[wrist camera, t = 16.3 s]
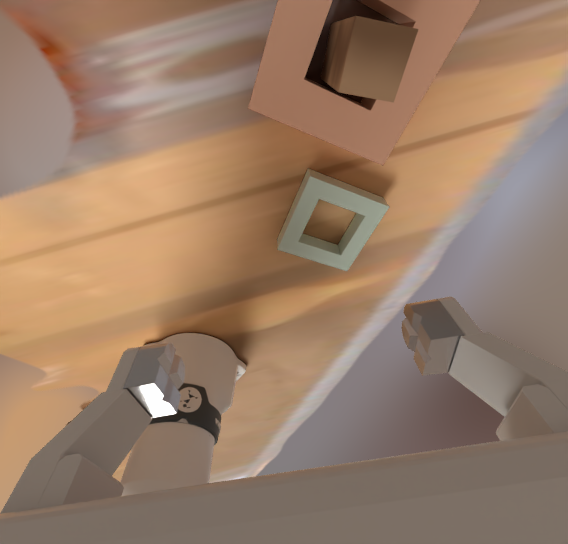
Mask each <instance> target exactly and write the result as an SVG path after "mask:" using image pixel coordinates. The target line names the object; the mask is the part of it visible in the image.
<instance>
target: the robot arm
mask: <svg viewBox="0 0 568 544" xmlns="http://www.w3.org/2000/svg"><path fill="white" fill-rule="evenodd" d="M404 314H405V316H406V318H405V319H404V320H403V321H402V333H403V337H404V340H405V343H406V345H407V347H408V348H409V349H411V350H412V351H414V352H415V354H414V360H415V362H416V364H417V366H418V368H419V370H420V372H421V374H422V375H431V374H440V373H448V372H449V374H450V375H451V376H452V377H454V378H455V379H456V380H458V381H459V382H460V383H461V384H463V385H464V386H465V387H467V388H468V389H469V390H471V391H472V392H473V393H475V394H476V395H477V396H478V397H480V398H481V399H482V400H484V401H485V402H486V403H488V404H489V405H490V406H491V407H493V408H494V409H495V410H497V411H498V412H499V413H501V414H502V415H503V416H504V419H503V421H502V422H501V424H500V425H499V427H498V429H497V431H496V434H497V436H498V437H499V439H500V441H497V442H490V443H483V444H476V445H469V446H462V447H455V448H449V449H442V450H435V451H428V452H421V453H415V454H407V455H400V456H394V457H387V458H380V459H374V460H366V461H359V462H353V463H346V464H339V465H332V466H325V467H318V468H312V469H305V470H297V471H290V472H284V473H277V474H270V475H263V476H256V477H249V478H242V479H235V480H229V481H222V482H215V483H209V479H210V472H211V464H212V457H213V450H214V445H215V444H216V443H217V441H218V436H219V433H220V428H221V426H220V423H221V415H222V414H223V413H224V412H226V411H227V410H228V408H229V407H231V405H232V402H233V396H234V390H235V383H236V381H237V380H238V379H239V378H240V377H241V376H242V375H243V374H244V373H245V371H246V365H245V364H244V363H243V362H242V361H241V360H239V359H238V358H237V357H236V355H235V353H234V352H233V350H232V349H231V348H230V347H229V346H228V345H227V344H226V343H224V342H223V341H221V340H219V339H217V338H214V337H212V336H208V335H204V334H198V333H181V334H176V335H172V336H170V337H167V338H165V339H164V340H162V341H160V342H156V343H150V344H146V345H144V346H142V347H136V348H129V349H127V350H126V351H125V352H124V353H123V355H122V357H121V359H120V362H119V364H118V366H117V368H116V371H115V373H114V375H113V377H112V379H111V382H110V384H109V386H108V388H107V391H106V392H103V393H101V394H100V395H99V396H98V397H96V398H95V399H94V400H93V401H92V402H91V403H90V404H89V405H88V406H87V407H86V408H85V409H84V410H83V411H82V412H80V413H79V414H78V415H77V416H76V417H75V418H74V419H73V420H72V421H71V422H70V423H69V424H68V425H67V426H66V427H65V428H63V430H61V431H60V432H59V433H58V434H57V435H56V436H55V437H54V438H53V439H52V440H51V441H50V442H49V443H47V444H46V446H45V447H43V448H42V449H41V450H40V451H39V452H38V453H37V454H36V455H35V456H34V457H33V458H32V459H31V460H30V461H29V463H28V465H27V467H26V469H25V470H24V472H23V474H22V476H21V478H20V480H19V481H18V483H17V485H16V487H15V488H14V490H13V492H12V494H11V495H10V497H9V499H8V501H7V503H6V504H5V506H4V508H3V510H2V512H1V513H0V544H568V372H567V371H565V370H563V369H561V368H559V367H557V366H555V365H553V364H551V363H549V362H547V361H545V360H543V359H541V358H539V357H537V356H535V355H533V354H531V353H529V352H527V351H525V350H523V349H521V348H519V347H517V346H515V345H513V344H511V343H509V342H507V341H505V340H503V339H501V338H499V337H497V336H495V335H492V334H491V333H489V332H485V333H483V332H482V331H481V330H480V328H479V327H478V326H477V325H476V324H475V322H474V321H473V320H472V319H471V318H470V316H469V315H468V314H467V313H466V312H465V310H464V309H463V308H462V307H461V306H460V304H459V303H458V302H457V301H456V299H455V298H453V297H446V298H440V299H436V300H435V299H434V300H428V301H422V302H416V303H410V304H406V305H405V307H404ZM132 447H133V448H132ZM131 449H132V450H131ZM130 450H131V453H130V456H129V459H128V462H127V465H126V467H125V470H124V473H123V476H122V479H121V482H119V481H117V480H116V479H115V478H113V477H112V475H113V473H114V472H115V471H116V469H117V468H118V467H119V465H120V464H121V462H122V461H123V460H124V458H125V457H126V455H127V454H128V453H129V451H130Z"/></svg>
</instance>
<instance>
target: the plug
mask: <svg viewBox="0 0 568 544" xmlns="http://www.w3.org/2000/svg"><path fill="white" fill-rule="evenodd" d="M417 32H418V29H416V28H411V27H406V26H402V25H397V24H393V23H388V22H383V21H379V20H374V19H370V18H365V17H360V16H354V17H350V18H347V19H344V20H341V21H338V22H334V23H331V26H330V31H329V36H328V41H327V46H326V51H325V57H324V62H323V67H322V72H321V77H320V78H321V79H322V80H323V81H325V82H326V83H327V84H329V85H330V86H331V87H332V88H334V89H335V90H336V91H337V92H339V93H345V94H350V95H355V96H361V97H366V98H372V99H377V100H383V101H388V102H393V103H394V100H395V97H396V94H397V91H398V88H399V85H400V82H401V79H402V77H403V74H404V71H405V68H406V65H407V62H408V59H409V56H410V53H411V50H412V47H413V44H414V41H415V38H416V35H417Z"/></svg>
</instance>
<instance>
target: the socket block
mask: <svg viewBox="0 0 568 544" xmlns="http://www.w3.org/2000/svg"><path fill="white" fill-rule="evenodd" d="M332 1H333V0H278V2H277V5H276V9H275V12H274V16H273V20H272V23H271V27H270V30H269V34H268V38H267V41H266V45H265V48H264V52H263V56H262V59H261V63H260V66H259V70H258V74H257V77H256V81H255V85H254V88H253V92H252V95H251V99H250V103H249V106H248V109H250V110H252V111H255V112H257V113H260V114H262V115H264V116H267V117H269V118H271V119H274V120H276V121H278V122H281V123H283V124H286V125H288V126H290V127H293V128H295V129H297V130H300V131H302V132H305V133H307V134H309V135H312V136H314V137H316V138H319V139H321V140H323V141H326V142H328V143H331V144H333V145H335V146H338V147H340V148H342V149H345V150H347V151H350V152H352V153H354V154H357V155H359V156H361V157H364V158H366V159H368V160H371V161H373V162H376V163H378V164H380V165H384V163H385V162H386V160H387V158H388V157H389V155H390V153H391V151H392V150H393V148H394V146H395V145H396V143H397V141H398V140H399V138H400V136H401V134H402V133H403V131H404V129H405V128H406V126H407V124H408V123H409V121H410V119H411V117H412V116H413V114H414V112H415V111H416V109H417V107H418V106H419V104H420V102H421V100H422V99H423V97H424V95H425V94H426V92H427V90H428V89H429V87H430V85H431V83H432V82H433V80H434V78H435V77H436V75H437V73H438V72H439V70H440V68H441V66H442V65H443V63H444V61H445V60H446V58H447V56H448V55H449V53H450V51H451V49H452V48H453V46H454V44H455V43H456V41H457V39H458V38H459V36H460V34H461V32H462V31H463V29H464V27H465V26H466V24H467V22H468V21H469V19H470V17H471V15H472V14H473V12H474V10H475V9H476V7H477V5H478V3H479V2H480V0H357V1H359V2H361V3H363V4H364V5H366V6H368V7H370V8H371V9H373V10H375V11H377V12H378V13H380V14H382V15H384V16H385V17H387V18H389V19H391V20H392V21H394V22H396V23H398V25H402V26H406V27H411V28H416V29H418V32H417V35H416V38H415V41H414V44H413V47H412V50H411V53H410V56H409V59H408V62H407V65H406V68H405V71H404V74H403V77H402V79H401V82H400V85H399V88H398V91H397V94H396V97H395V100H394V103H393V102H388V101H383V100H377V99H372V98H366V97H363V99H362V101H361V103H359V102H356V101H354V100H352V99H350V98H348V97H346V96H344V95H342V94H339V93H337V92H335V91H333V90H331V89H329V88H327V87H325V86H323V85H320V84H318V83H316V82H314V81H312V80H310V79H308V78H306V77H305V75H306V73H307V70H308V67H309V64H310V62H311V59H312V56H313V53H314V50H315V48H316V45H317V42H318V39H319V37H320V34H321V31H322V28H323V26H324V23H325V20H326V17H327V14H328V12H329V9H330V6H331V3H332Z"/></svg>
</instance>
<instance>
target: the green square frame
mask: <svg viewBox="0 0 568 544" xmlns="http://www.w3.org/2000/svg"><path fill="white" fill-rule="evenodd" d="M319 199H320V200H323V201H326V202H328V203H331V204H334V205H337V206H339V207H342V208H345V209H348V210H350V211H353V212H356V215H355V217H354V218H353V220H352V222H351V223H350V225H349V227H348V228H347V230H346V232H345V234H344V235H343V237H342V239H341V240H340V242H339V244H338V245H336V244H333V243H330V242H327V241H324V240H321V239H318V238H315V237H312V236H309V235H306V234H303V231H304V229H305V227H306V225H307V223H308V221H309V219H310V217H311V214H312V212H313V210H314V208H315V206H316V204H317V202H318V200H319ZM388 208H389V205H388V204H387V202H386V201H385V200H384V198H383V197H380V196H378V195H375V194H373V193H370V192H367V191H365V190H362V189H360V188H357V187H355V186H352V185H350V184H347V183H344V182H342V181H339V180H337V179H334V178H332V177H329V176H327V175H324V174H321V173H319V172H316V171H314V170H311V169H309V168H308V170H307V172H306V174H305V176H304V179H303V181H302V183H301V186H300V188H299V190H298V192H297V195H296V197H295V199H294V202H293V204H292V206H291V209H290V211H289V213H288V215H287V218H286V220H285V222H284V225H283V227H282V229H281V231H280V234H279V236H278V238H277V250H280V251H283V252H286V253H289V254H293V255H296V256H299V257H302V258H306V259H309V260H312V261H315V262H319V263H322V264H325V265H328V266H332V267H335V268H338V269H341V270H345V271H348V269H349V268H350V266H351V265H352V263H353V262H354V260H355V259H356V257H357V256H358V254H359V253H360V251H361V249H362V248H363V246H364V245H365V243H366V242H367V240H368V239H369V237H370V236H371V234H372V233H373V231H374V230H375V228H376V227H377V225H378V224H379V222H380V221H381V219H382V218H383V216H384V214H385V213H386V211H387V210H388Z"/></svg>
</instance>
